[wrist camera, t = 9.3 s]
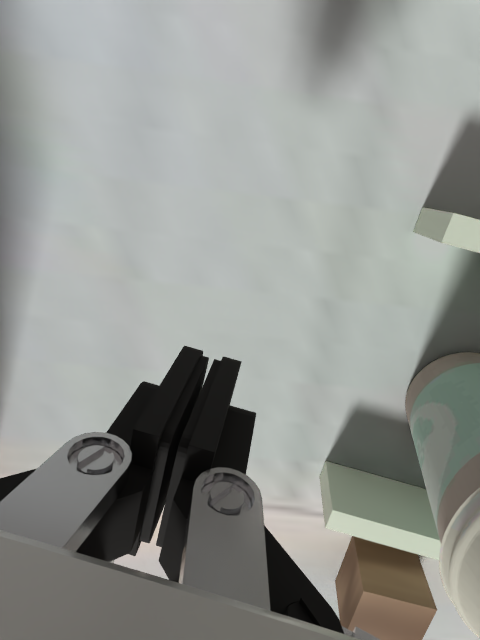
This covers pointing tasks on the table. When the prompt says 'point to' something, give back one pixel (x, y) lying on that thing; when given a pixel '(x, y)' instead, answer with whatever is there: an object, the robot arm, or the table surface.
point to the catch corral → (379, 492)
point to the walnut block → (383, 592)
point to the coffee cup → (452, 470)
